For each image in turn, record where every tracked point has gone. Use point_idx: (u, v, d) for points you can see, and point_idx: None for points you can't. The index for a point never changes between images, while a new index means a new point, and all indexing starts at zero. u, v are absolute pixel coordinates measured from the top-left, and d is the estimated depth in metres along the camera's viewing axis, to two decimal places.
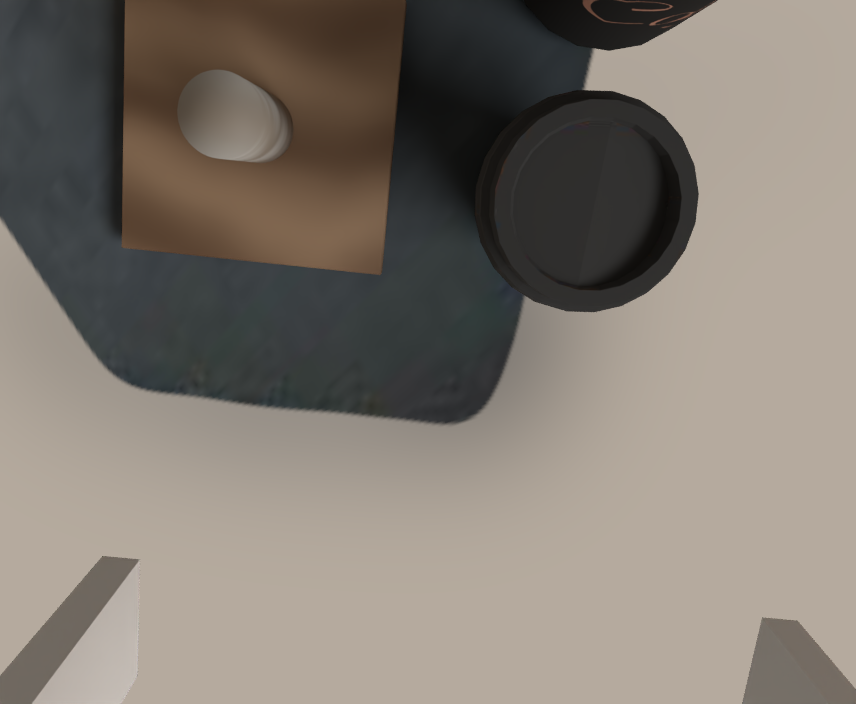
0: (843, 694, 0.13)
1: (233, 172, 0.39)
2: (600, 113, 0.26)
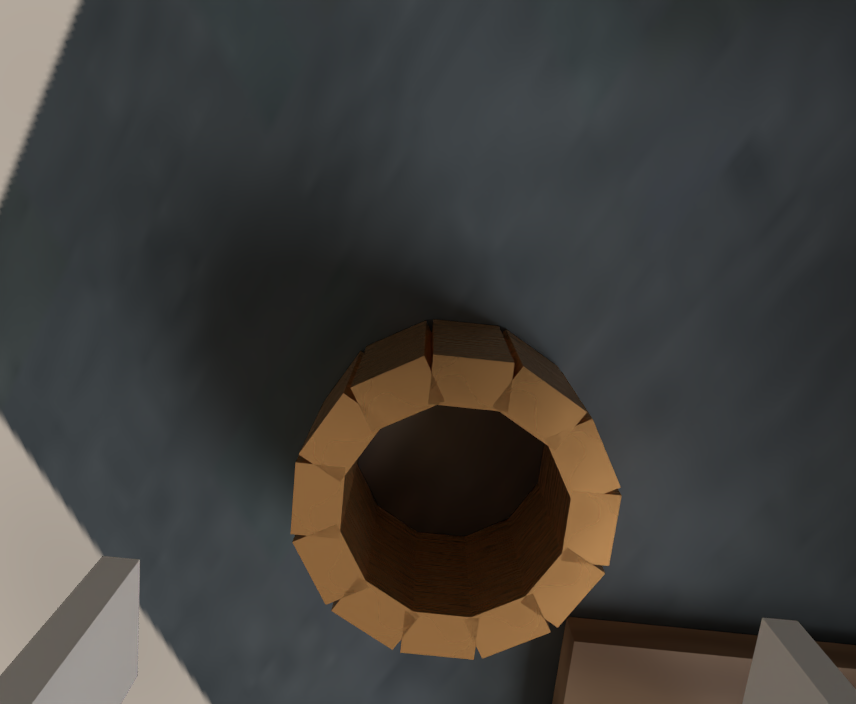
0: (843, 694, 0.13)
1: None
2: None
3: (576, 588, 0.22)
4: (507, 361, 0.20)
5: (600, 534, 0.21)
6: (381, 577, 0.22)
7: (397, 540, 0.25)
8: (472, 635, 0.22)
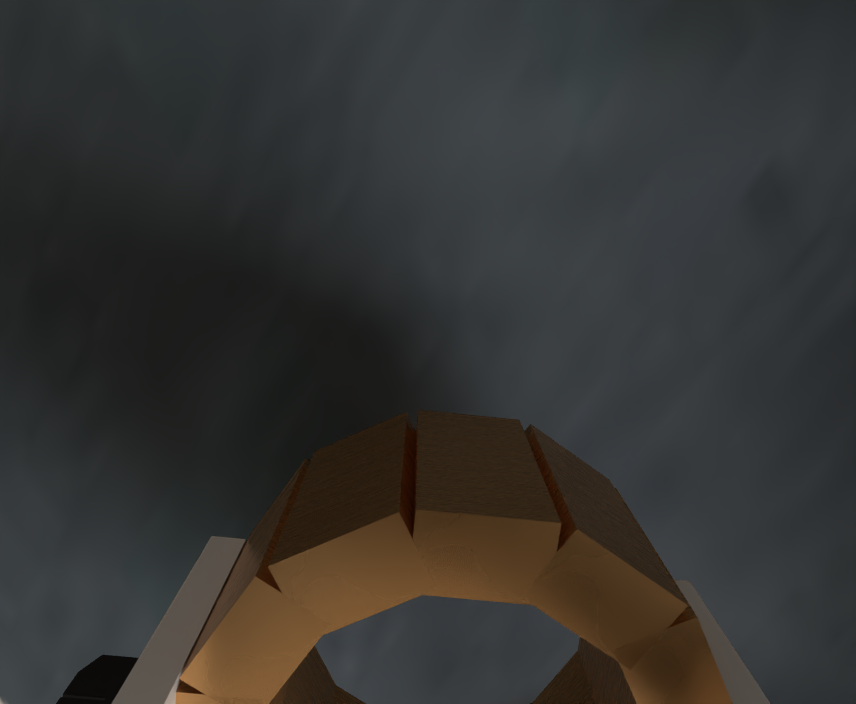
0: (714, 642, 0.14)
1: None
2: None
3: None
4: (548, 519, 0.11)
5: None
6: None
7: None
8: None
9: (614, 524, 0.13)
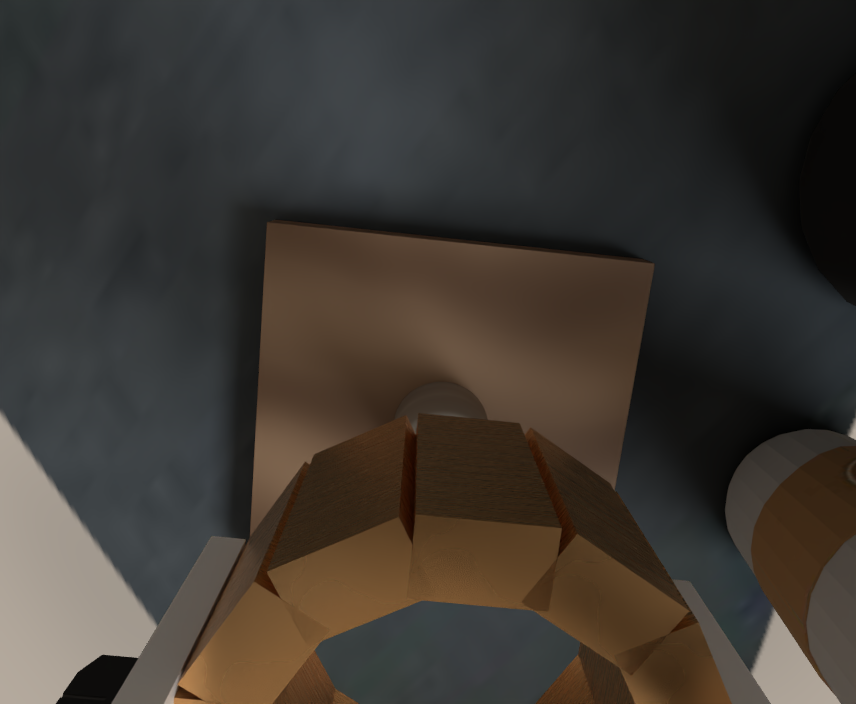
0: (714, 642, 0.14)
1: None
2: None
3: None
4: (548, 524, 0.11)
5: None
6: None
7: None
8: None
9: (615, 528, 0.13)
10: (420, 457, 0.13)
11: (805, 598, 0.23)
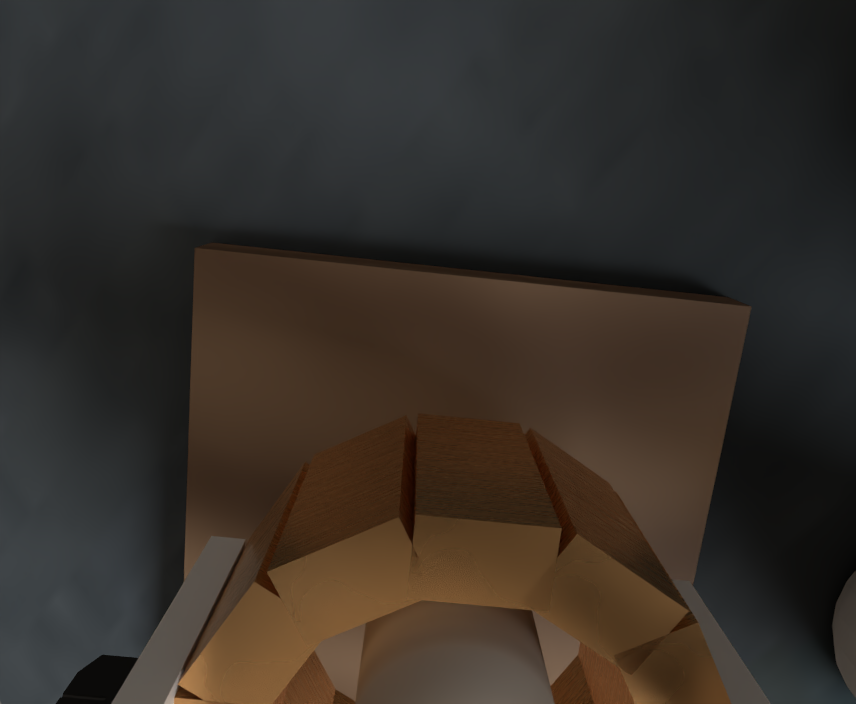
0: (714, 642, 0.14)
1: None
2: None
3: None
4: (548, 524, 0.11)
5: None
6: None
7: None
8: None
9: (615, 529, 0.13)
10: (420, 457, 0.13)
11: None
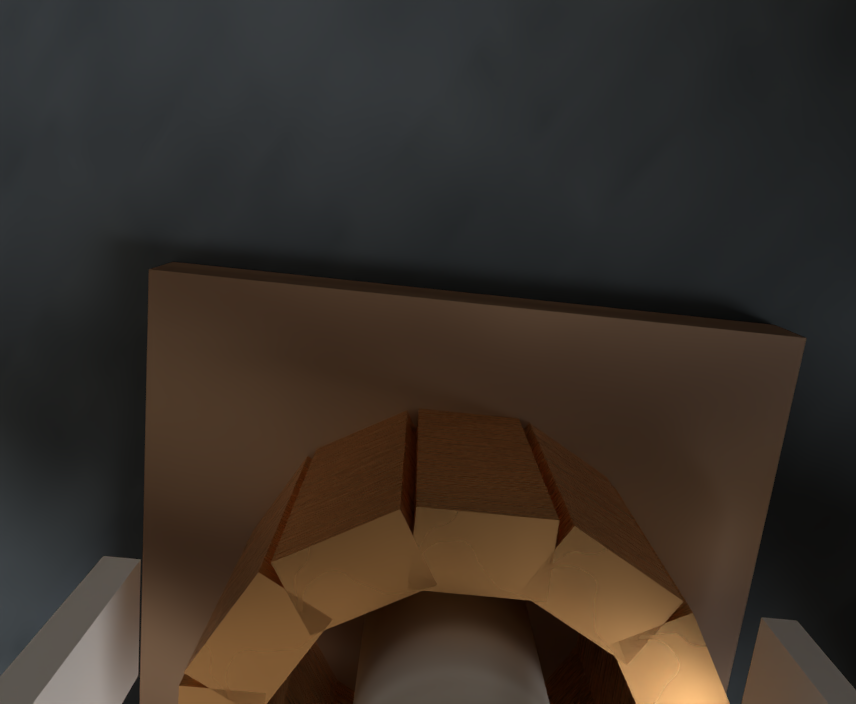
0: (842, 694, 0.13)
1: None
2: None
3: None
4: (546, 516, 0.11)
5: None
6: None
7: None
8: None
9: (612, 521, 0.13)
10: (421, 451, 0.14)
11: None
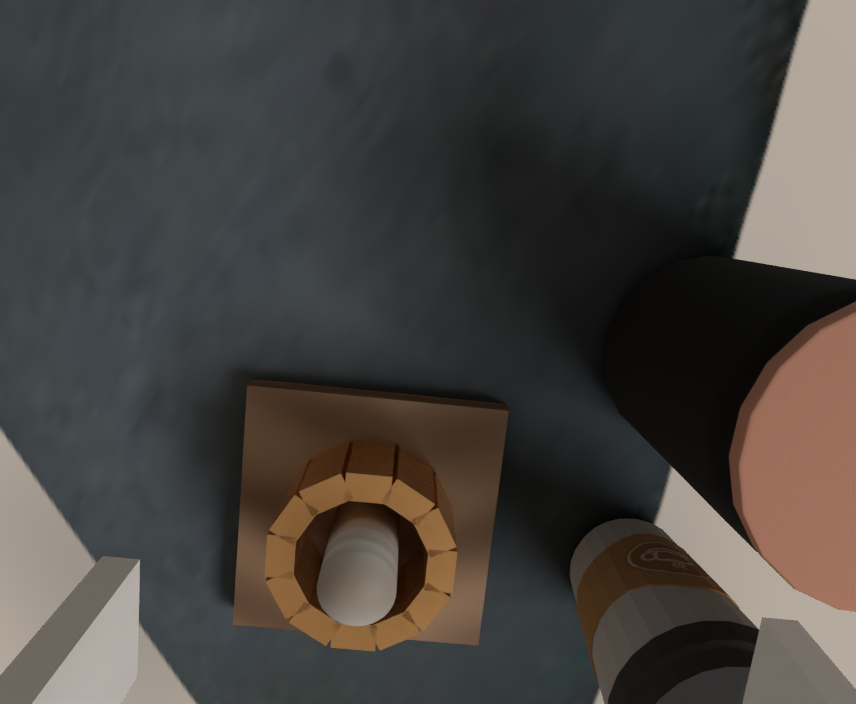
0: (843, 694, 0.13)
1: None
2: (734, 678, 0.28)
3: (434, 607, 0.36)
4: (388, 475, 0.35)
5: (446, 574, 0.36)
6: None
7: None
8: (373, 636, 0.37)
9: (419, 480, 0.37)
10: (351, 456, 0.37)
11: (591, 639, 0.35)
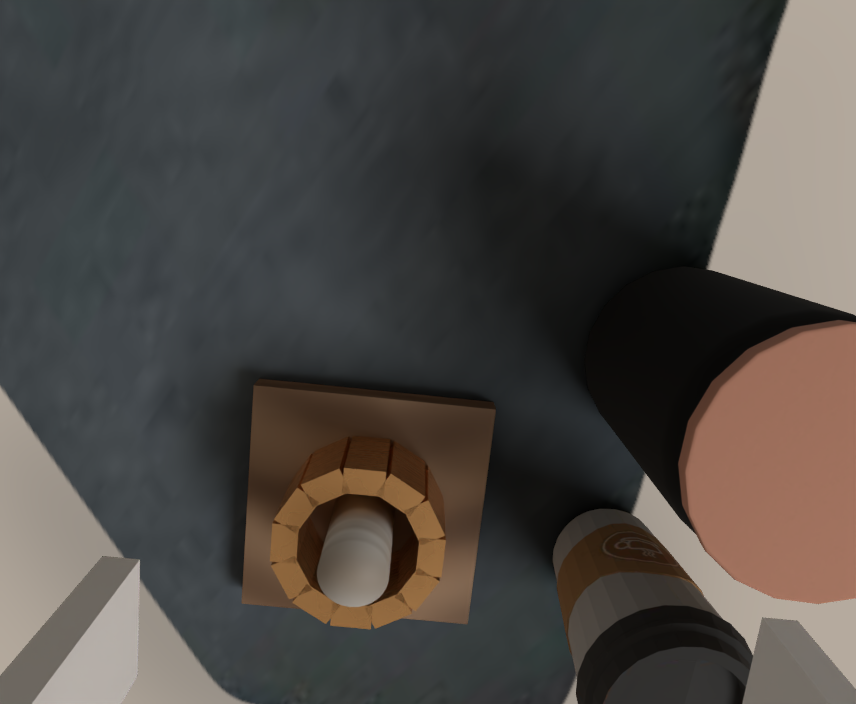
0: (843, 694, 0.13)
1: None
2: (688, 657, 0.31)
3: (425, 589, 0.40)
4: (382, 471, 0.38)
5: (436, 560, 0.39)
6: None
7: None
8: (369, 615, 0.40)
9: (411, 474, 0.40)
10: (349, 451, 0.41)
11: (567, 620, 0.39)
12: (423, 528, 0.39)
